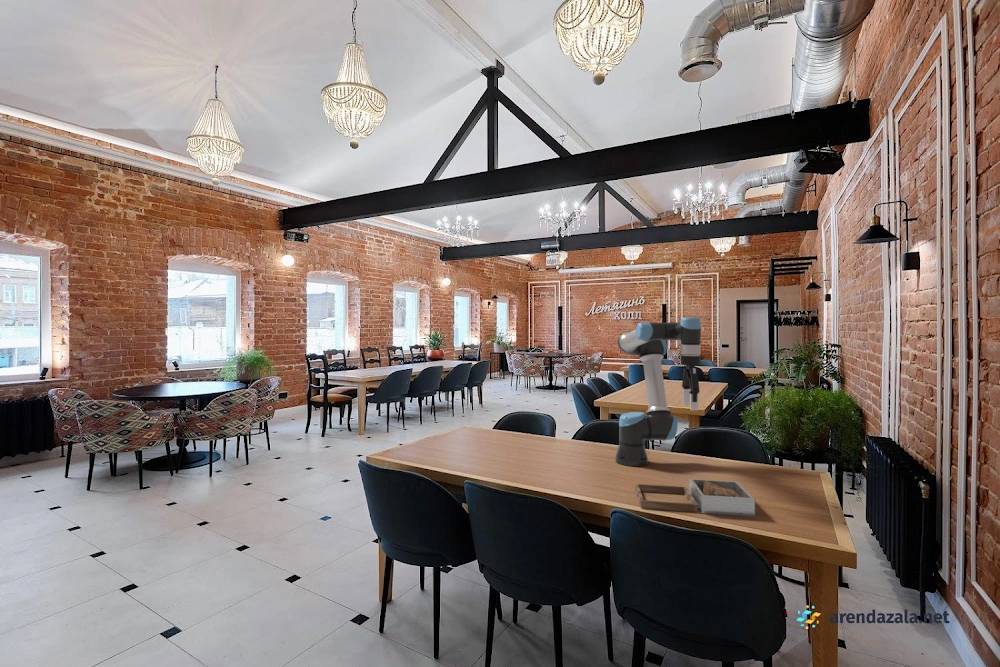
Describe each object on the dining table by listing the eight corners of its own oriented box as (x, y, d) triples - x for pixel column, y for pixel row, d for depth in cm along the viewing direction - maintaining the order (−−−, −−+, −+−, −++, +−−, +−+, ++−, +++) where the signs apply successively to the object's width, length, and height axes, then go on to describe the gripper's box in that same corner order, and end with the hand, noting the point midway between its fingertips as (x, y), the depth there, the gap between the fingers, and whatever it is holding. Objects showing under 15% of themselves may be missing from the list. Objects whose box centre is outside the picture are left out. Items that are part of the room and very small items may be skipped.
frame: (635, 490, 185) (635, 483, 185) (686, 493, 182) (686, 486, 182) (641, 508, 166) (641, 501, 166) (697, 511, 163) (697, 504, 163)
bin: (689, 494, 181) (689, 478, 181) (736, 497, 178) (736, 481, 178) (701, 513, 162) (701, 495, 162) (754, 516, 159) (754, 499, 159)
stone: (712, 506, 176) (734, 491, 175) (724, 521, 166) (747, 505, 164) (695, 485, 175) (717, 469, 174) (706, 498, 165) (729, 482, 164)
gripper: (675, 353, 204) (674, 402, 204) (687, 356, 179) (687, 412, 180) (693, 353, 203) (692, 402, 203) (708, 357, 178) (707, 412, 178)
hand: (690, 407), depth 191 cm, fingers open, 13 cm apart
